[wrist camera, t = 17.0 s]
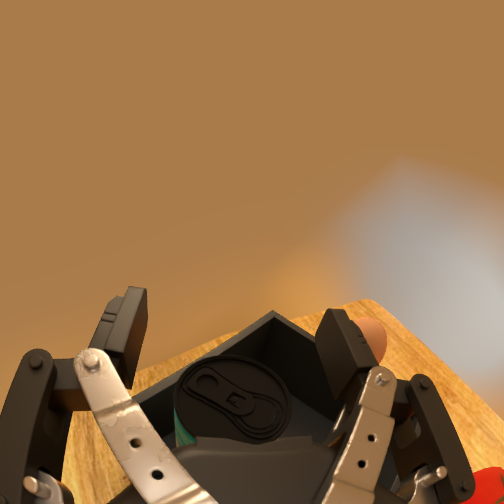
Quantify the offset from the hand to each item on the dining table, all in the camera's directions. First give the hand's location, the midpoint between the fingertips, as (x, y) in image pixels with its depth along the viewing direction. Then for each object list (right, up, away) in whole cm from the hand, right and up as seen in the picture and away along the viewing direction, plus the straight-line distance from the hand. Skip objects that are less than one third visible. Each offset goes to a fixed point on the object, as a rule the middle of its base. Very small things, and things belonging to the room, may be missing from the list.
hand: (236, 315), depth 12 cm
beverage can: (-3, -18, +7) cm, 19 cm away
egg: (+15, -14, +24) cm, 31 cm away
